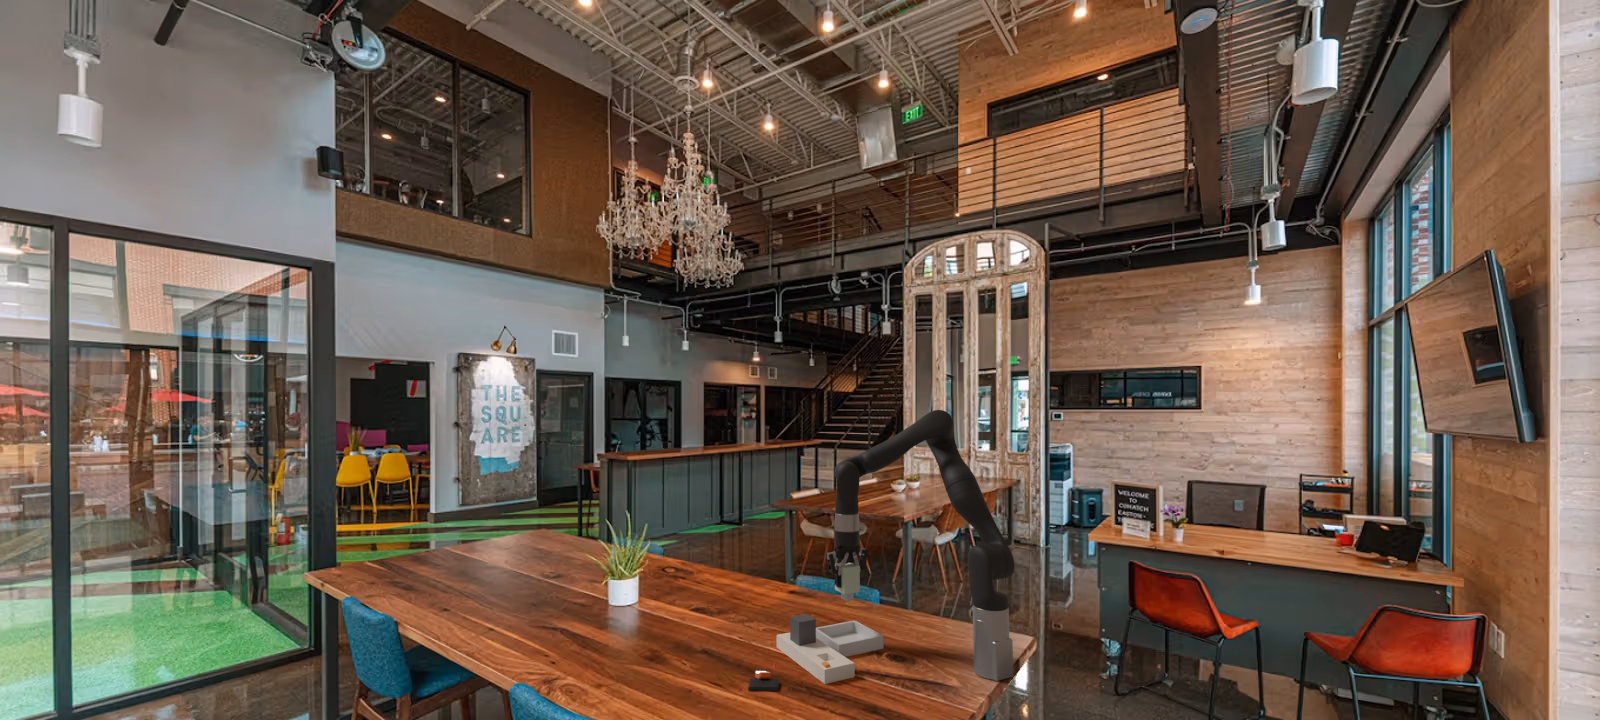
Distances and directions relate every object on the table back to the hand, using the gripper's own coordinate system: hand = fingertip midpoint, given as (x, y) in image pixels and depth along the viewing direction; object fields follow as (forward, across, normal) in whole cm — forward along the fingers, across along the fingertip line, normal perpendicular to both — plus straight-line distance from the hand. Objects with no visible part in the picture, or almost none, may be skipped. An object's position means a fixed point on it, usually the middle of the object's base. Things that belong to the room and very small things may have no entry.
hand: (847, 585), depth 185 cm
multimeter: (+18, -32, -8) cm, 38 cm away
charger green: (+4, 0, 0) cm, 4 cm away
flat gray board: (+17, -15, -6) cm, 24 cm away
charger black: (+16, -15, 0) cm, 22 cm away
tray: (+17, 0, 0) cm, 17 cm away
